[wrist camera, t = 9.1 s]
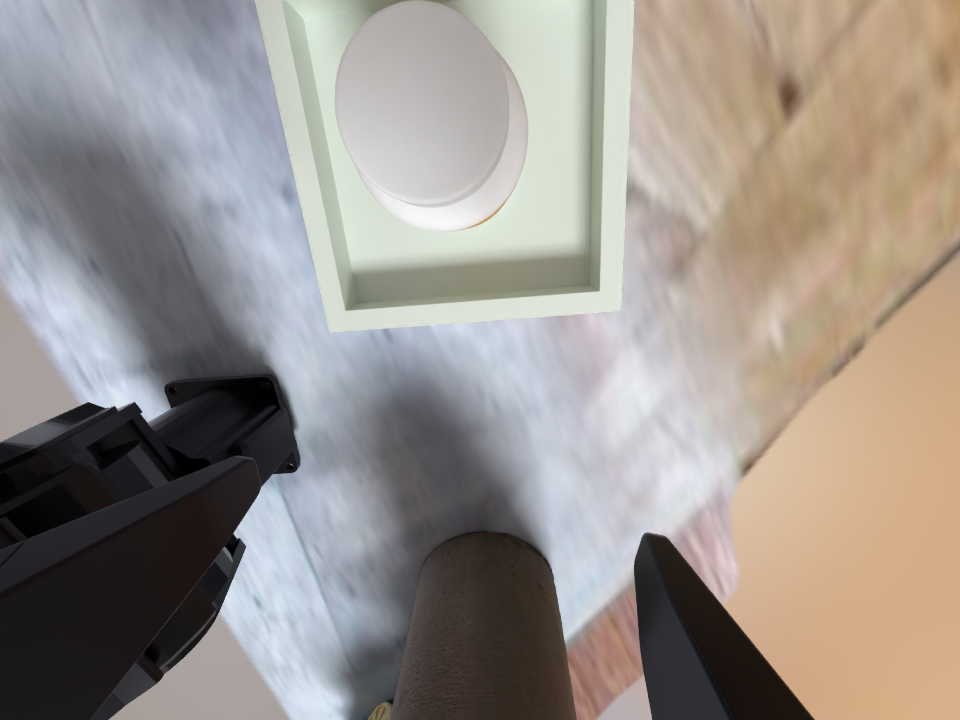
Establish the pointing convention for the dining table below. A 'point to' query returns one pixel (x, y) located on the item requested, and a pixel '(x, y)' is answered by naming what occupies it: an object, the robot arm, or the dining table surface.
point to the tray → (529, 209)
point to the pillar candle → (485, 636)
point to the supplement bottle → (431, 116)
